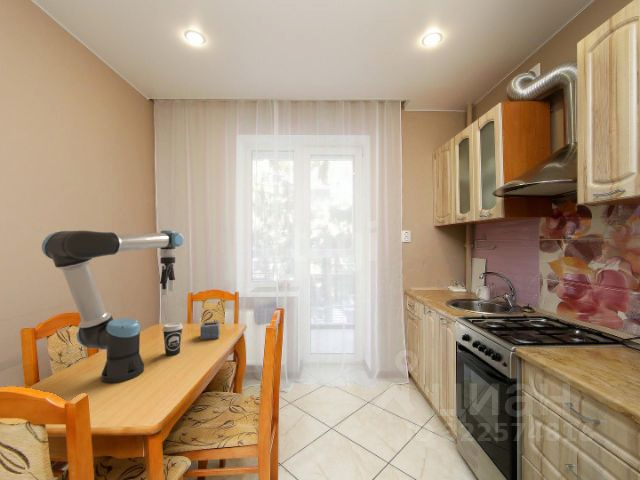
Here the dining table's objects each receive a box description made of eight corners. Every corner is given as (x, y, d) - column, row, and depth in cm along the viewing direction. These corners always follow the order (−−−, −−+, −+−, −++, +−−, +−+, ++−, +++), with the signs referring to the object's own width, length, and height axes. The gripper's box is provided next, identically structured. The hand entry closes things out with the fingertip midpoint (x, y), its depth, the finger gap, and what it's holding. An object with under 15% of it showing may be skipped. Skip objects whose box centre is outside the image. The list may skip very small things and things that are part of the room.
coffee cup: (186, 350, 143) (186, 322, 143) (175, 357, 133) (175, 327, 133) (170, 349, 144) (170, 321, 144) (157, 357, 134) (157, 327, 134)
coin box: (218, 338, 160) (218, 325, 160) (200, 340, 157) (200, 327, 157) (219, 333, 169) (219, 320, 169) (203, 335, 166) (203, 322, 167)
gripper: (169, 257, 145) (169, 296, 144) (179, 255, 169) (180, 289, 168) (153, 257, 143) (153, 297, 142) (166, 256, 167) (166, 289, 166)
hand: (167, 293), depth 155 cm, fingers open, 13 cm apart
